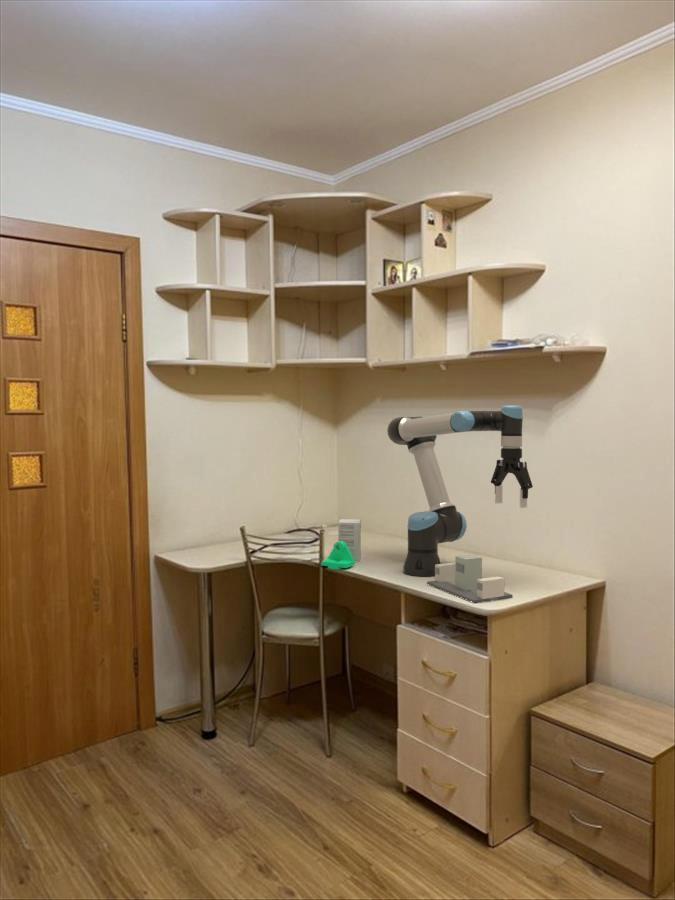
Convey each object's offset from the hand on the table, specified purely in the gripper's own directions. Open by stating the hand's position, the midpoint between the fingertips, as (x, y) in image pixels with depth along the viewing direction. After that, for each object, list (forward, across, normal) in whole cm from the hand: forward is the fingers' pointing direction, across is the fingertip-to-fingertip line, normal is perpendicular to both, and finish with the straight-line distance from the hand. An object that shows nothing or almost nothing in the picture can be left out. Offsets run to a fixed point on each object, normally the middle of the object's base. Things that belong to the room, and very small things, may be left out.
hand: (510, 505), depth 252 cm
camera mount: (+29, +52, +46) cm, 75 cm away
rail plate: (+29, -3, +21) cm, 36 cm away
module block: (+28, -3, +21) cm, 35 cm away
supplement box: (+29, +62, +35) cm, 77 cm away
